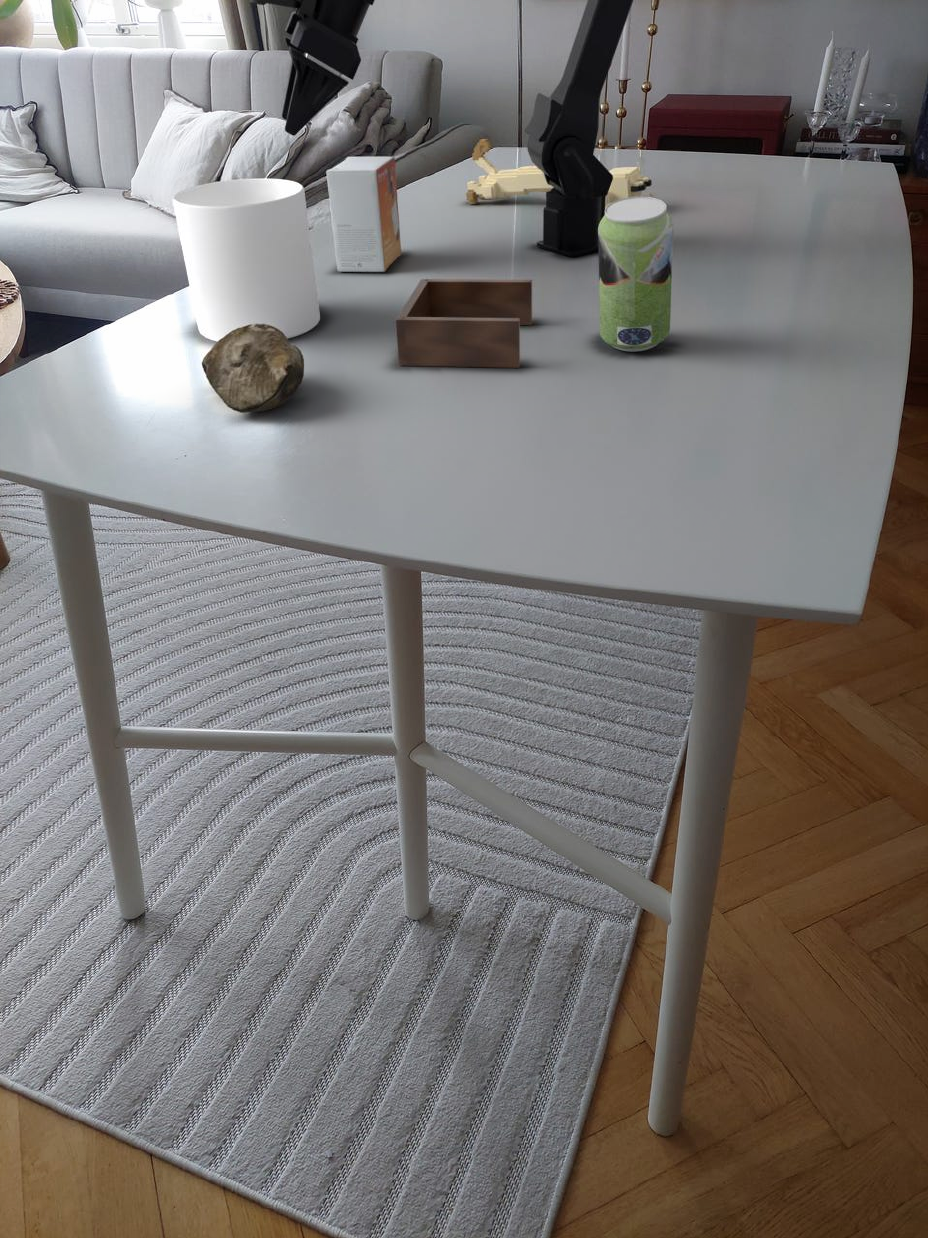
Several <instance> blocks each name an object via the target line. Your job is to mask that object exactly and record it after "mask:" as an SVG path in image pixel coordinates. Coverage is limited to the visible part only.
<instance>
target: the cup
mask: <svg viewBox="0 0 928 1238" xmlns="http://www.w3.org/2000/svg"><path fill="white" fill-rule="evenodd" d="M172 204H173V209H174V210H173V211H174V215H175V221H176V226H177V229H178V230H177V231H178V235H179V240H180V244H181V250H182V255H183V259H184V265H185V270H186V275H187V280H188V285H189V290H190V294H191V301H192V305H193V310H194V314H195V315H194V316H195V320H196V323H197V329H198V332H199V333H200V335H201V336H203V337H204V338H206V339H208V340H210V341H213V342H215V343H217V342H218V341H219V340H220V339H222V338H223V337H224V336H225V335H227V334H228V333H230V332H231V331H233V330H235V329H237V328H241V327H243V326H247V325H250V324H257V323H258V324H267V325H271V326H273V327H275V328H277V329H279V330H280V331H282V332H283V333H284V335H285V336H286V337H287V339H288V340H289V339H293V338H295V337H298V336H302V335H303V334H305V333H307V332H310V331H311V330H313V329H314V328H315V327H316V326H317V325H318V324H319V323H320V320H321V314H320V312H321V311H320V304H319V297H318V289H317V288H318V287H317V281H316V272H315V264H314V256H313V249H312V248H313V247H312V241H311V240H312V239H311V233H310V225H309V224H310V223H309V216H308V208H307V201H306V193H305V187H304V186H303V184H301V183H299V182H296V181H293V180H288V179H283V178H282V179H281V178H260V177H259V178H258V177H257V178H239V179H228V180H221V181H214V182H208V183H202V184H198V185H194V186H192V187H187V188H185V189H183V190H180V191H179V192H177V193H175V194H174V196H173V199H172Z"/></svg>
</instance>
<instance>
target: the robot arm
mask: <svg viewBox="0 0 928 1238" xmlns="http://www.w3.org/2000/svg"><path fill="white" fill-rule="evenodd" d="M248 2H249V3H250V4H253V5H254V4H255V5H260V6H265V5H266V4H268V5H273V6H280V7H285V8H286V7H287V8H291V9H295V10H294V11H292V12H291V14H290V15H289V19H288V21H287V23H286V26H285V29H284V32H285V33H286V34H289V35H290V36H291V38H290V37H288V36H286V35H284V41H285V44H286V47H287V50H288V52H289V56H290V58H291V59H290V60H291V63H290V68H289V74H288V80H287V84H286V90H285V96H284V101H283V106H282V112H281V117H282V119H283V120H285V124H284V131H285V132H286V133H287V134H289V135H291V136H293V137H295V136H297V135H298V133H299V132H301V130H303V128H305V126H307V125H308V124H309V122H310V121H312V119H314V117H315V116H317V115H318V114H319V112H320V111H321V110H322V109H324V107H326V106H327V105H328V104H329V103H330V102H331V101H332V100H333V99H334V98H335V97H336V96H337V95H338V94H339V93H340V92H341V91H343V89H345V87H347V86H348V85H349V83H350V81H349V80H348V79H350V80H352V81H354V79H355V76H356V74H357V72H358V69H359V67H360V65H361V62H362V58H361V55H360V52H359V49H358V45H357V44H358V41H359V37H358V34H359V32H360V29H361V27H362V25H363V22H364V20H365V18H366V15H367V13H368V10H369V8H370V6H373V5H374V3H375V0H248ZM633 3H634V0H587V2H586V4H585V7H584V11H583V14H582V17H581V19H580V23H579V25H578V29H577V31H576V35H575V38H574V41H573V43H572V47H571V49H570V53H569V56H568V59H567V62H566V64H565V68H564V71H563V74H562V77H561V79H560V81H559V83H558V84H557V86H556V87H555V89H554V90H553V92H552V93H551V94H550V96H547V95H546V94H543V93H541V92H538V93H537V94H536V98H535V101H534V106H533V112H532V115H531V116H532V117H531V119H530V121H529V123H528V125H526V127H525V129H524V133H525V134H527V135H528V139H527V145H526V147H527V148H526V149H527V153H528V156H529V158H530V160H531V162H532V163H533V165H534V166H536V167H537V168H538V169H540V170H541V171H542V172H543V173H544V176H545V179H546V182H547V184H548V185H551V186H552V187H554V188H553V189H551V191H548V192H545V206H544V207H543V211H542V212H543V213H542V214H543V216H542V217H543V218H542V221H543V222H542V224H543V225H542V239H541V240H538V241H536V247H538V248H542V249H545V250H548V251H551V252H554V253H558V254H561V255H563V256H564V255H565V256H568V257H576V256H580V255H585V254H589V253H592V252H593V253H594V252H597V251H599V250H598V227H599V224H600V222H601V220H602V218H603V217H604V215H605V201H606V196H607V194H608V191H609V189H610V186H611V183H612V180H613V175H612V174H611V173H610V172H609V171H610V170H609V169H608V168H607V167H606V166H604V164H603V163H602V162H601V161H600V160H599V158H598V157H596V156H595V154H594V153H595V150H596V149H595V148H596V144H597V140H598V139H597V138H598V134H599V127H600V126H599V125H600V123H599V122H600V105H601V104H600V103H601V95H602V91H603V88H604V85H605V82H606V80H607V77H608V74H609V71H610V68H611V65H612V63H613V59H614V57H615V54H616V51H617V48H618V47H619V46H618V45H619V42H620V40H621V36H622V35H623V31H624V29H625V26H626V23H627V20H628V17H629V14H630V11H631V9H632V6H633ZM345 77H346V78H345ZM347 78H348V79H347Z"/></svg>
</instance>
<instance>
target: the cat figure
mask: <svg viewBox="0 0 928 1238" xmlns="http://www.w3.org/2000/svg"><path fill="white" fill-rule="evenodd" d="M491 149H492V145H491V140H489V138H482V139H479V140H478V142H477V144H475V147H473V152H472V153H471V156H472V161H474V163H475V164H477V165H476V166H479V168H483V170H484V171H485V173H487V175H480V176H478V182H477V180H470V181H468V182H466V184H467V185H466V187H467V192H466V193H465V195H466V201H468V204H469V205H476V204H478V203H479V199H478V198H480V199H485V200H491V199H492V200H493V199H494V200H496V199H507V198H509V197H511V196H512V197H513V196H515V197H516V196H517V197H519V196H528V195H529V194H532V193H533V194H535V193H546V192H548V191H551V189H553V188H554V187H552V186H551V185H548V184H547V182H546V179H545V176H544V173H543V172H542V171H541V170H540V169H538V168H537V167H536V166H535V165H525V166H520V167H518V168H514V169H513V168H512V169H501V170H498V168H497V167H495V165H493V163H491V160H489V159H488V158H487V157H486V156H485V155H486V153H488V152H490V150H491ZM608 171H609V172H610V173H611V174H612V175H613V180H612V183H611V186H610V189H609V191H608V194H607V196H606V201H605V209H606V207H607V206H608V205H609V204H611V203H613V202H615V201H618V200H621V199H625V198H630V197H651V198H652V197H655V196H656V193H649V195H644V196H642V194H643V191H645V190H647V188H648V187H652V183H653V182H652V179H650V177H649V176H643V175H642V172H643V171H642V170H641V169H639V167H638V166H628V167H627V166H625V167H624V166H623V167H613V168H612V169H610V170H608Z"/></svg>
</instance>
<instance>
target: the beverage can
mask: <svg viewBox="0 0 928 1238" xmlns="http://www.w3.org/2000/svg"><path fill="white" fill-rule="evenodd" d="M667 208H668V207H667V204H666V203H665V202H664V201H663V200H661V199H658V198H656V197H652V196H651V197H643V196H641V197H630V198H625V199H621V200H618V201H615V202H613V203H611V204H609V205H608V206H607V207H606V209H605V215H604V217H603V218H602V220H601V222H600V224H599V227H598V250H597V251H598V290H599V291H598V293H599V295H598V296H599V297H598V298H599V333H600V334H599V335H600V337H601V339H602V340H603V342H605V343H606V344H608V345H610V346H611V347H613V348H614V349H616V350H619V351H623V352H628V353H629V352H631V353H634V352H644V351H647V350H651V349H652V348H654V347H656V346H657V345H658V344H659V343H661V342H663V341H664V340H666V338H668V336H669V335H670V331H671V312H672V311H671V309H672V308H671V307H672V278H673V253H674V251H673V249H674V222H673V217H672V216H671V215H670V213H669V212H668V210H667Z"/></svg>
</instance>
